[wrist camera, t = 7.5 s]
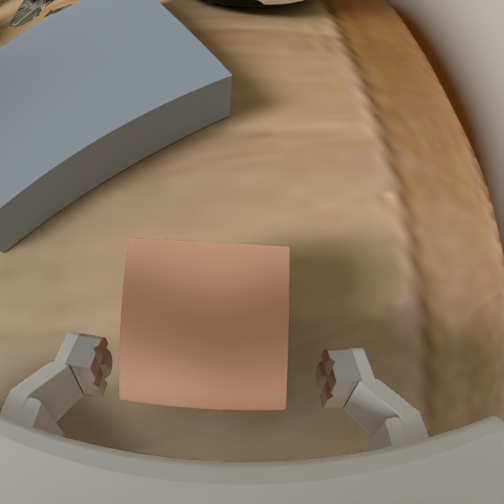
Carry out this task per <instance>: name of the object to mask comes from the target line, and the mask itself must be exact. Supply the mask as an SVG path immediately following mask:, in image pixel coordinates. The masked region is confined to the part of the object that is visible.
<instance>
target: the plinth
mask: <svg viewBox="0 0 504 504" xmlns="http://www.w3.org/2000/svg"><path fill="white" fill-rule="evenodd" d="M231 87H232V74H231V73H230V72H229V71H228V70H227V69H226V68H225V67H224V66H223V65H222V64H221V62H220V61H219V60H218V59H217V58H216V57H215V56H214V55H213V54H212V53H211V52H210V51H209V50H208V49H207V48H206V47H205V46H204V45H203V44H202V43H201V42H200V41H199V40H198V39H197V38H196V37H195V36H194V35H193V34H192V33H191V32H190V31H189V30H188V29H187V28H186V27H185V26H184V25H183V24H182V23H181V22H180V21H179V20H178V19H176V18H175V17H174V16H173V15H172V14H171V13H170V12H169V11H168V10H167V9H166V8H165V7H164V6H162V5H161V4H160V3H159V2H158V1H157V0H81V1H79V2H77V3H75V4H73V5H71V6H69V7H67V8H65V9H63V10H61V11H59V12H57V13H56V14H54V15H52V16H50V17H48V18H47V19H45V20H43V21H41V22H40V23H38V24H36V25H35V26H33V27H31V28H30V29H28V30H26V31H25V32H23V33H22V34H20V35H19V36H17V37H15V38H14V39H13V40H11V41H10V42H8V43H7V44H5V45H4V46H2V47H1V48H0V251H1V252H3V253H5V252H6V251H7V250H9V249H10V248H11V247H12V246H14V245H15V244H16V243H17V242H19V241H20V240H21V239H22V238H24V237H25V236H26V235H28V234H29V233H30V232H32V231H33V230H34V229H36V228H37V227H38V226H40V225H41V224H42V223H44V222H45V221H46V220H48V219H49V218H51V217H52V216H53V215H55V214H56V213H58V212H59V211H61V210H62V209H63V208H65V207H66V206H68V205H69V204H71V203H72V202H74V201H75V200H77V199H78V198H80V197H81V196H83V195H84V194H86V193H87V192H89V191H90V190H92V189H94V188H95V187H97V186H98V185H100V184H102V183H103V182H105V181H106V180H108V179H110V178H111V177H113V176H115V175H116V174H118V173H120V172H121V171H123V170H125V169H126V168H128V167H130V166H132V165H133V164H135V163H137V162H139V161H140V160H142V159H144V158H146V157H148V156H149V155H151V154H153V153H155V152H157V151H159V150H160V149H162V148H164V147H166V146H168V145H170V144H172V143H174V142H176V141H178V140H180V139H182V138H184V137H186V136H188V135H190V134H192V133H194V132H196V131H198V130H200V129H202V128H204V127H206V126H208V125H210V124H213V123H215V122H217V121H219V120H221V119H223V118H226V117H228V116H230V102H231Z"/></svg>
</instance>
